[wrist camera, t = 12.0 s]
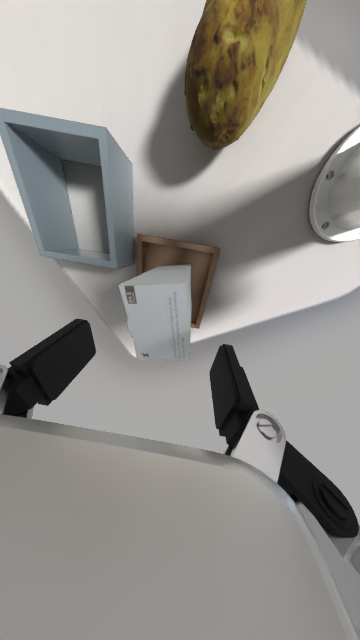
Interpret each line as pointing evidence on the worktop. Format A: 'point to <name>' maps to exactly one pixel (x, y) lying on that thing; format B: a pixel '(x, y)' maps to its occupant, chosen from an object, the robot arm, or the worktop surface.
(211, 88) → the potato
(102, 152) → the grey open box frame
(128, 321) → the skincare box
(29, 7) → the worktop surface
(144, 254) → the tray
